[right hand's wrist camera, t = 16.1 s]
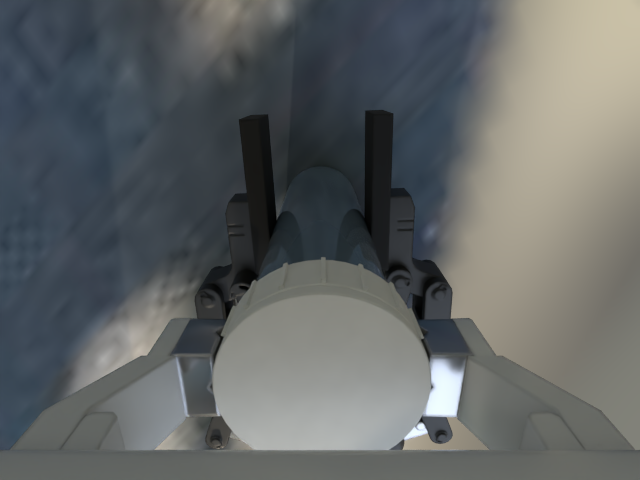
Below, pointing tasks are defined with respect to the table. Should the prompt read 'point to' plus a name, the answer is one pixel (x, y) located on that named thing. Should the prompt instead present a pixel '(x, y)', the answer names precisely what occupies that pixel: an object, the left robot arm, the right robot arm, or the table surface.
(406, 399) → the lid
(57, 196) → the table surface
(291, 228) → the grey cylinder
